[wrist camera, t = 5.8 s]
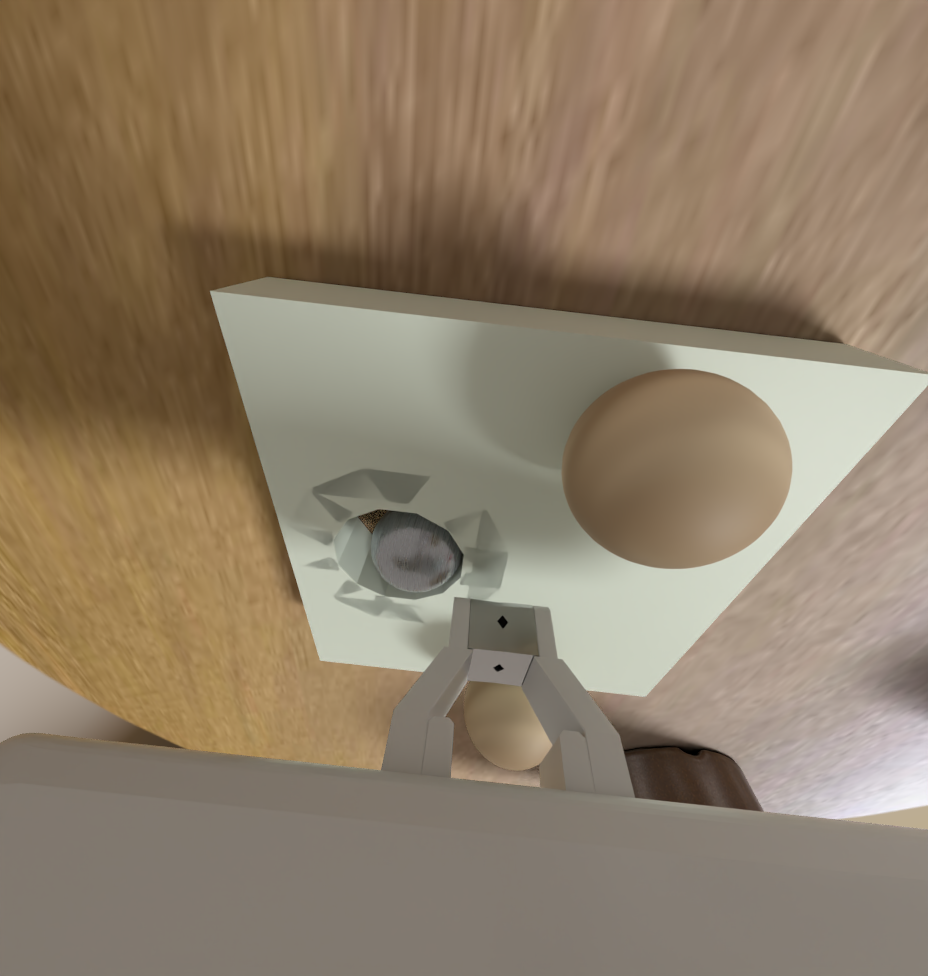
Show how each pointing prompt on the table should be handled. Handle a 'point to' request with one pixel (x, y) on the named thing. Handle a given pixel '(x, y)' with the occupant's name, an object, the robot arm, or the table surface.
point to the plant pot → (689, 778)
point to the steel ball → (413, 552)
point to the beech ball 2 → (676, 468)
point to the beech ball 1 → (504, 726)
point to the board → (508, 460)
